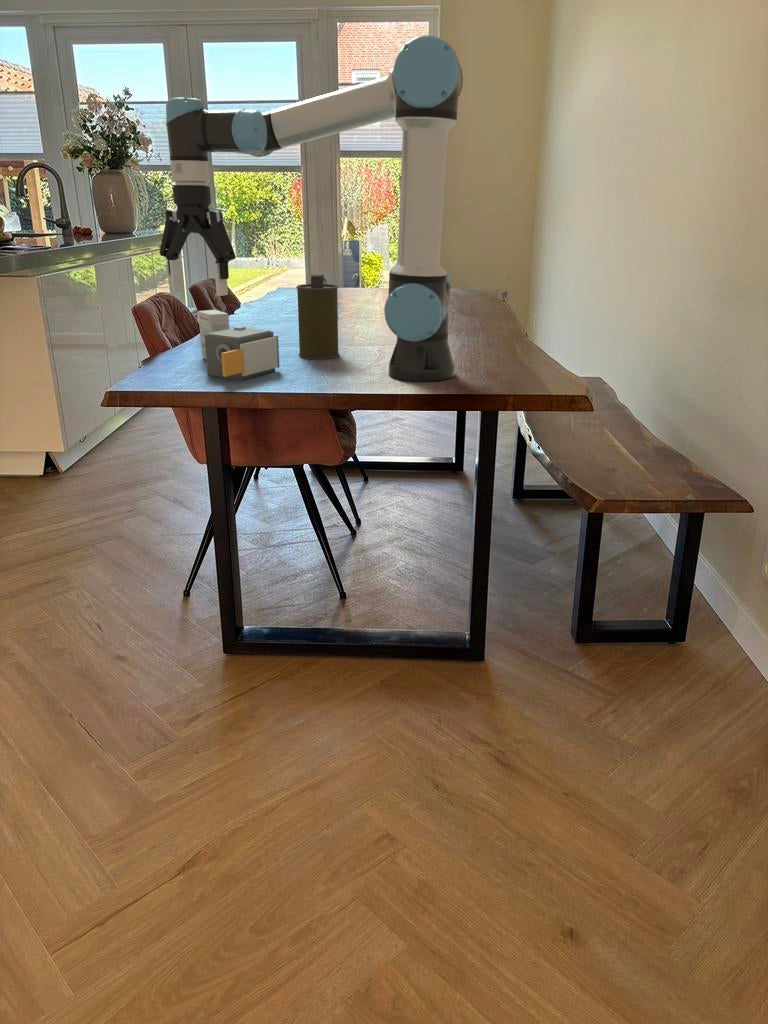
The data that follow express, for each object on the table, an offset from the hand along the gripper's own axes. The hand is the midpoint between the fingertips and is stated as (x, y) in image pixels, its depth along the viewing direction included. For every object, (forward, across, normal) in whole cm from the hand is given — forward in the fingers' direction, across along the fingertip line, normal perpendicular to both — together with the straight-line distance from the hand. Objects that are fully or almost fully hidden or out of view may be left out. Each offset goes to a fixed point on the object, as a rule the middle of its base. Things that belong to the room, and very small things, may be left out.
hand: (199, 293), depth 164 cm
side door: (+18, +8, +7) cm, 20 cm away
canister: (+19, +5, +36) cm, 41 cm away
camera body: (+19, +2, +9) cm, 21 cm away
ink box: (+19, -13, +17) cm, 28 cm away
